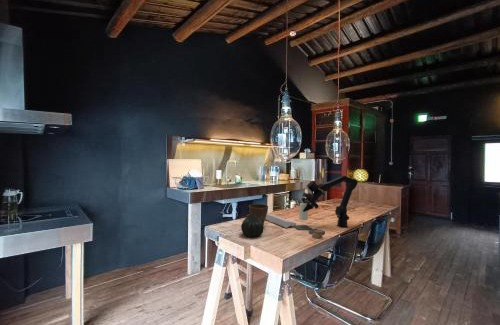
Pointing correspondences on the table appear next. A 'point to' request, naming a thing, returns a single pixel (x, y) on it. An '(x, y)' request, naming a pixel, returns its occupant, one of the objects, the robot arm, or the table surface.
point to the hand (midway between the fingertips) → (302, 210)
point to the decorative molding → (279, 221)
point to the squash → (252, 226)
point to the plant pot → (259, 211)
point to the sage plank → (303, 214)
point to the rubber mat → (302, 227)
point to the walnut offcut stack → (317, 234)
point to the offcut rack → (316, 229)
